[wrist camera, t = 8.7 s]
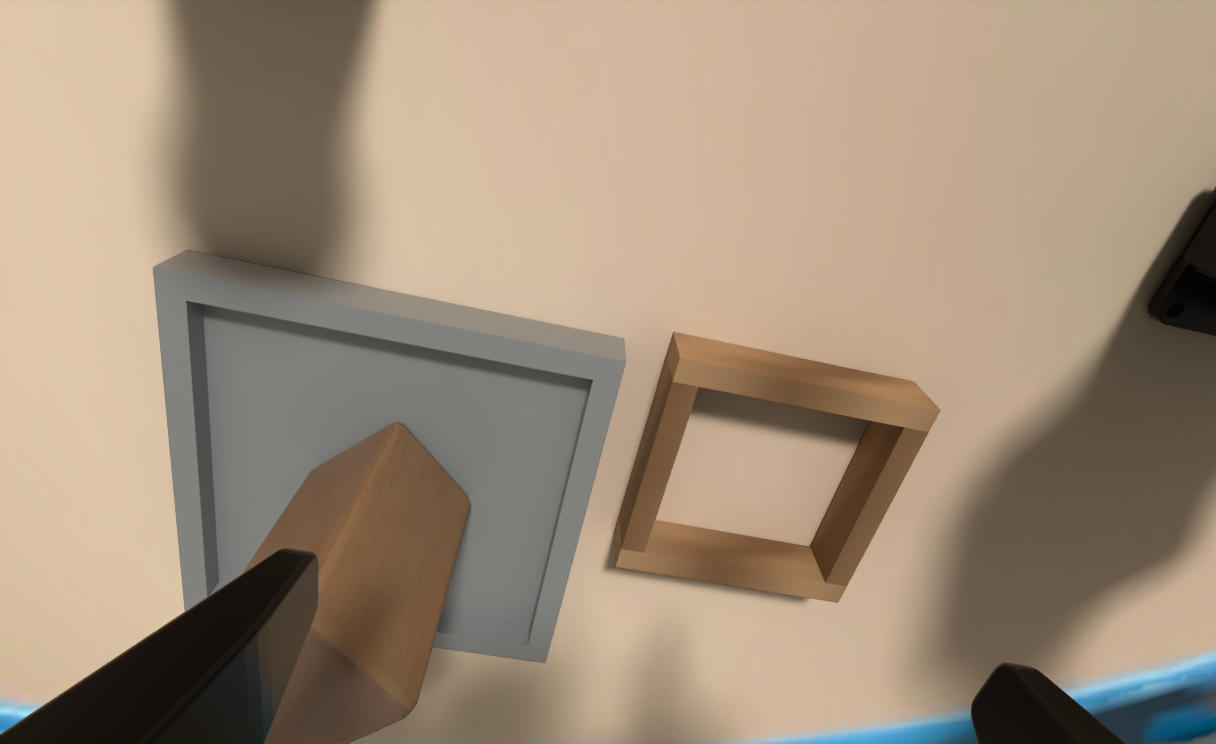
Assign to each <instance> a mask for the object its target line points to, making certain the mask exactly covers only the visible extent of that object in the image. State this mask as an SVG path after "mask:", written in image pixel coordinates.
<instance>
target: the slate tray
mask: <svg viewBox="0 0 1216 744" xmlns="http://www.w3.org/2000/svg"><path fill="white" fill-rule="evenodd" d="M153 275H154V285H155V296H156V307H157V318H158V328H159V339H160V350H161V361H162V371H163V382H164V393H165V404H166V414H167V425H168V436H169V447H170V457H171V468H172V479H173V490H174V500H175V511H176V522H177V533H178V543H179V554H180V565H181V576H182V586H183V597H184V608H185V611H187V610H188V609H190V608H191V607H193V606H194V605H196V604H197V603H199V602H200V601H202V600H203V599H205V598H206V597H208V596H209V595H211V594H212V593H214V592H215V591H217V590H218V589H220V588H221V587H223V586H224V585H226V584H227V583H229V582H231V581H232V580H234V579H235V578H237V577H238V576H240V575H241V574H242V573H243V571H244V570H245V568H246V567H247V565H248V564H249V562H250V561H251V559H252V558H253V556H254V555H255V553H256V552H257V550H258V549H259V547H260V546H261V544H262V543H263V541H264V540H265V538H266V537H267V535H268V534H269V532H270V531H271V529H272V528H273V526H274V525H275V523H276V522H277V520H278V519H279V517H280V516H281V514H282V513H283V511H284V510H285V508H286V507H287V505H288V504H289V502H290V501H291V499H292V498H293V496H294V495H295V494H296V492H297V491H298V489H299V488H300V486H301V485H302V483H303V482H304V480H305V479H306V477H307V476H308V474H309V473H310V471H311V470H313V469H315V468H316V467H318V466H320V465H321V464H323V463H325V462H327V461H328V460H330V459H332V458H333V457H335V456H337V455H338V454H340V453H342V452H344V451H345V450H347V449H349V448H350V447H352V446H354V445H356V444H357V443H359V442H361V441H362V440H364V439H366V438H367V437H369V436H371V435H373V434H374V433H376V432H378V431H379V430H381V429H383V428H385V427H386V426H388V425H390V424H393V423H398V422H399V423H401V424H403V425H405V426H406V427H407V428H408V429H409V430H410V432H411V433H412V434H413V435H414V436H415V437H416V438H417V439H418V440H419V442H420V443H421V444H422V445H423V446H424V447H425V448H426V449H427V450H428V452H429V453H430V454H431V455H432V456H433V457H434V458H435V459H436V461H437V462H438V463H439V464H440V465H441V466H442V467H443V468H444V469H445V471H446V472H447V473H448V474H449V475H450V476H451V477H452V478H453V479H454V481H455V482H456V483H457V484H458V485H459V486H460V487H461V488H462V490H463V491H464V492H465V493H466V494H467V495H468V498H469V500H470V503H471V508H470V512H469V515H468V519H467V523H466V526H465V530H464V534H463V537H462V541H461V545H460V548H459V552H458V556H457V559H456V563H455V566H454V570H453V574H452V577H451V581H450V585H449V588H448V592H447V596H446V599H445V603H444V607H443V610H442V614H441V617H440V621H439V625H438V628H437V632H436V636H435V639H434V643H433V647H437V648H444V649H451V650H457V651H464V652H471V653H478V654H485V655H492V656H499V657H506V658H513V659H520V660H527V661H534V662H541V663H546V659H547V655H548V652H549V648H550V644H551V640H552V637H553V633H554V629H555V625H556V622H557V618H558V614H559V610H560V607H561V603H562V599H563V595H564V592H565V588H566V584H567V580H568V577H569V573H570V569H571V565H572V562H573V558H574V554H575V550H576V547H577V543H578V539H579V536H580V532H581V528H582V524H583V521H584V517H585V513H586V509H587V506H588V502H589V498H590V494H591V491H592V487H593V483H594V479H595V476H596V472H597V468H598V464H599V461H600V457H601V453H602V449H603V446H604V442H605V438H606V434H607V431H608V427H609V423H610V419H611V416H612V412H613V408H614V404H615V401H616V397H617V393H618V389H619V386H620V382H621V378H622V374H623V371H624V367H625V363H626V356H625V344H624V339H622V338H618V337H613V336H608V335H603V334H598V333H593V332H588V331H583V330H578V329H573V328H568V327H564V326H559V325H554V324H549V323H544V322H539V321H534V320H529V319H524V318H519V317H514V316H509V315H505V314H500V313H495V312H490V311H485V310H480V309H475V308H470V307H465V306H460V305H455V304H450V303H446V302H441V301H436V300H431V299H426V298H421V297H416V296H411V295H406V294H401V293H396V292H391V291H387V290H382V289H377V288H372V287H367V286H362V285H357V284H352V283H347V282H342V281H337V280H332V279H328V278H323V277H318V276H313V275H308V274H303V273H298V272H293V271H288V270H283V269H278V268H274V267H269V266H264V265H259V264H254V263H249V262H244V261H239V260H234V259H229V258H224V257H219V256H215V255H210V254H205V253H200V252H195V251H190V250H185V251H183V252H181V253H180V254H178V255H176V256H174V257H172V258H170V259H168V260H166V261H164V262H162V263H160V264H158V265H156V266H154V267H153Z"/></svg>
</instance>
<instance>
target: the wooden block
mask: <svg viewBox="0 0 1216 744" xmlns="http://www.w3.org/2000/svg"><path fill="white" fill-rule="evenodd" d="M470 508H471V503H470V500H469V498H468V495H467V494H466V493H465V492H464V491H463V490H462V488H461V487H460V486H459V485H458V484H457V483H456V482H455V481H454V479H453V478H452V477H451V476H450V475H449V474H448V473H447V472H446V471H445V469H444V468H443V467H442V466H441V465H440V464H439V463H438V462H437V461H436V459H435V458H434V457H433V456H432V455H431V454H430V453H429V452H428V450H427V449H426V448H425V447H424V446H423V445H422V444H421V443H420V442H419V440H418V439H417V438H416V437H415V436H414V435H413V434H412V433H411V432H410V430H409V429H408V428H407V427H406V426H405V425H403V424H401V423H399V422H398V423H393V424H390V425H388V426H386V427H385V428H383V429H381V430H379V431H378V432H376V433H374V434H373V435H371V436H369V437H367V438H366V439H364V440H362V441H361V442H359V443H357V444H356V445H354V446H352V447H350V448H349V449H347V450H345V451H344V452H342V453H340V454H338V455H337V456H335V457H333V458H332V459H330V460H328V461H327V462H325V463H323V464H321V465H320V466H318V467H316V468H315V469H313V470H311V471H310V473H309V474H308V476H307V477H306V479H305V480H304V482H303V483H302V485H301V486H300V488H299V489H298V491H297V492H296V494H295V495H294V496H293V498H292V499H291V501H290V502H289V504H288V505H287V507H286V508H285V510H284V511H283V513H282V514H281V516H280V517H279V519H278V520H277V522H276V523H275V525H274V526H273V528H272V529H271V531H270V532H269V534H268V535H267V537H266V538H265V540H264V541H263V543H262V544H261V546H260V547H259V549H258V550H257V552H256V553H255V555H254V556H253V558H252V559H251V561H250V562H249V564H248V565H247V567H246V568H245V570H244V571H243V573H244V572H246V571H247V570H249V569H250V568H252V567H253V566H255V565H256V564H258V563H259V562H261V561H262V560H264V559H265V558H267V557H268V556H270V555H271V554H273V553H274V552H276V551H278V550H280V549H283V548H291V549H297V550H304V551H310V552H313V553H315V554H316V555H317V558H318V606H317V611H316V614H315V617H314V620H313V623H312V625H311V628H310V630H309V633H308V635H307V638H306V640H305V643H304V645H303V648H302V650H301V653H300V655H299V658H298V660H297V663H296V665H295V668H294V670H293V673H292V675H291V678H290V680H289V683H288V685H287V688H286V690H285V693H284V695H283V698H282V700H281V703H280V705H279V708H278V710H277V713H276V715H275V718H274V720H273V723H272V725H271V728H270V730H269V732H268V735H267V737H266V740H265V742H264V744H348V743H350V742H353V741H355V740H357V739H359V738H361V737H364V736H366V735H368V734H370V733H373V732H375V731H377V730H379V729H381V728H384V727H386V726H388V725H390V724H393V723H395V722H397V721H399V720H401V719H404V718H405V717H406V716H407V715H408V714H409V713H410V712H411V711H412V710H413V708H414V707H415V705H416V704H417V701H418V698H419V694H420V690H421V687H422V683H423V679H424V676H425V672H426V668H427V665H428V661H429V658H430V654H431V650H432V647H433V643H434V639H435V636H436V632H437V628H438V625H439V621H440V617H441V614H442V610H443V607H444V603H445V599H446V596H447V592H448V588H449V585H450V581H451V577H452V574H453V570H454V566H455V563H456V559H457V556H458V552H459V548H460V545H461V541H462V537H463V534H464V530H465V526H466V523H467V519H468V515H469V512H470ZM243 573H242V574H243Z"/></svg>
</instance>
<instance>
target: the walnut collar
mask: <svg viewBox="0 0 1216 744" xmlns="http://www.w3.org/2000/svg"><path fill="white" fill-rule="evenodd" d="M699 387H702V388H707V389H712V390H718V391H723V392H728V393H733V394H738V395H743V396H748V397H753V398H758V399H763V400H768V401H773V402H778V403H783V404H788V405H793V406H799V407H804V408H809V409H814V410H819V411H824V412H829V413H834V414H839V415H844V416H849V417H854V418H859V419H864V420H869V421H870V423H869V425H868V427H867V429H866V432H865V434H864V436H863V438H862V440H861V442H860V444H859V446H858V448H857V450H856V452H855V455H854V457H853V459H852V461H851V463H850V465H849V467H848V469H847V471H846V473H845V475H844V477H843V480H842V482H841V484H840V486H839V488H838V490H837V492H836V494H835V496H834V498H833V500H832V503H831V505H830V507H829V509H828V511H827V513H826V515H825V517H824V519H823V521H822V523H821V526H820V528H819V530H818V532H817V534H816V536H815V538H814V540H813V542H812V544H811V546H810V547H807V546H802V545H796V544H790V543H784V542H778V541H773V540H767V539H761V538H755V537H749V536H743V535H738V534H732V533H726V532H720V531H714V530H709V529H703V528H697V527H691V526H685V525H680V524H674V523H668V522H662V521H656V520H655V519H656V516H657V513H658V510H659V507H660V504H661V501H662V498H663V495H664V491H665V488H666V485H667V482H668V479H669V476H670V473H671V470H672V467H673V464H674V461H675V458H676V455H677V452H678V449H679V446H680V443H681V440H682V437H683V434H684V431H685V428H686V425H687V422H688V419H689V416H690V413H691V410H692V407H693V404H694V401H695V398H696V395H697V392H698V389H699ZM939 412H940V409H939V408H938V407H937V406H936V405H935V404H934V403H933V402H932V400H931V399H930V398H929V397H928V396H927V395H926V394H925V393H924V392H923V391H922V390H921V389H920V387H919V386H918V385H917V384H916V383H915V382H912V381H907V380H903V379H898V378H893V377H888V376H883V375H878V374H873V373H869V372H864V371H859V370H854V369H849V368H844V367H840V366H835V365H830V364H825V363H820V362H815V361H811V360H806V359H801V358H796V357H791V356H786V355H781V354H777V353H772V352H767V351H762V350H757V349H752V348H748V347H743V346H738V345H733V344H728V343H723V342H718V341H714V340H709V339H704V338H699V337H694V336H689V335H685V334H680V333H675V332H674V333H673V336H672V339H671V343H670V346H669V349H668V353H667V356H666V360H665V363H664V366H663V370H662V373H661V376H660V380H659V383H658V386H657V390H656V393H655V397H654V400H653V403H652V407H651V410H650V413H649V417H648V420H647V424H646V427H645V430H644V434H643V437H642V440H641V444H640V447H639V450H638V454H637V457H636V461H635V464H634V467H633V471H632V474H631V477H630V481H629V484H628V487H627V491H626V494H625V498H624V501H623V504H622V508H621V511H620V514H619V518H618V521H617V524H616V528H615V561H616V567H621V568H627V569H633V570H639V571H645V572H651V573H658V574H664V575H670V576H676V577H682V578H688V579H694V580H701V581H707V582H713V583H719V584H725V585H731V586H738V587H744V588H750V589H756V590H762V591H768V592H774V593H781V594H787V595H793V596H799V597H805V598H811V599H817V600H824V601H830V602H836V603H838V602H839V600H840V598H841V596H842V595H843V593H844V591H845V589H846V587H847V585H848V583H849V581H850V579H851V578H852V576H853V574H854V572H855V570H856V568H857V566H858V564H859V563H860V561H861V559H862V557H863V555H864V553H865V551H866V549H867V547H868V546H869V544H870V542H871V540H872V538H873V536H874V534H875V532H876V531H877V529H878V527H879V525H880V523H881V521H882V519H883V517H884V515H885V514H886V512H887V510H888V508H889V506H890V504H891V502H892V500H893V498H894V497H895V495H896V493H897V491H898V489H899V487H900V485H901V483H902V482H903V480H904V478H905V476H906V474H907V472H908V470H909V468H910V466H911V465H912V463H913V461H914V459H915V457H916V455H917V453H918V451H919V450H920V448H921V446H922V444H923V442H924V440H925V438H926V436H927V434H928V433H929V431H930V429H931V427H932V425H933V423H934V421H935V419H936V417H937V416H938V414H939Z"/></svg>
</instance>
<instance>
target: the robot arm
mask: <svg viewBox="0 0 1216 744" xmlns="http://www.w3.org/2000/svg"><path fill="white" fill-rule="evenodd" d="M1172 303H1174V304H1173V306H1172V307H1171V308H1170V309H1169V310H1168V311H1167V308H1168V307H1169V306H1170V305H1171V304H1172ZM1148 314H1149V315H1150V317H1151V318H1153V319H1155V320H1157V321H1159V322H1161V323H1163V324H1165V325H1170V326H1174V327H1179V328H1183V329H1187V330H1192V331H1196V332H1201V333H1205V334H1209V335H1214V336H1216V200H1215V202H1214V203H1213V205H1212V206H1211V208H1210V209H1209V211H1208V213H1207V214H1206V216H1205V217H1204V219H1203V220H1202V222H1201V223H1200V225H1199V227H1198V228H1197V230H1196V231H1195V233H1194V234H1193V236H1192V237H1191V239H1190V240H1189V242H1188V244H1187V245H1186V247H1185V248H1184V250H1183V251H1182V253H1181V254H1180V256H1179V258H1178V259H1177V261H1176V262H1175V264H1174V265H1173V267H1172V268H1171V270H1170V272H1169V273H1168V275H1167V276H1166V278H1165V279H1164V281H1163V282H1162V284H1161V286H1160V287H1159V289H1158V290H1157V292H1156V293H1155V295H1154V296H1153V298H1152V300H1151V301H1150V303H1149V306H1148ZM317 606H318V558H317V555H316V554H315V553H313V552H310V551H304V550H297V549H291V548H283V549H280V550H278V551H276V552H274V553H273V554H271V555H270V556H268V557H267V558H265V559H264V560H262V561H261V562H259V563H258V564H256V565H255V566H253V567H252V568H250V569H249V570H247V571H246V572H244V573H243V574H241V575H240V576H238V577H237V578H235V579H234V580H232V581H231V582H229V583H227V584H226V585H224V586H223V587H221V588H220V589H218V590H217V591H215V592H214V593H212V594H211V595H209V596H208V597H206V598H205V599H203V600H202V601H200V602H199V603H197V604H196V605H194V606H193V607H191V608H190V609H188V610H187V611H185V612H184V613H182V614H181V615H179V616H178V617H176V618H175V619H173V620H172V621H170V622H169V623H167V624H166V625H164V626H163V627H161V628H160V629H158V630H157V631H155V632H154V633H152V634H151V635H149V636H148V637H146V638H145V639H143V640H142V641H140V642H139V643H137V644H135V645H134V646H132V647H131V648H129V649H128V650H126V651H125V652H123V653H122V654H120V655H119V656H117V657H116V658H114V659H113V660H111V661H110V662H108V663H107V664H105V665H104V666H102V667H101V668H99V669H98V670H96V671H95V672H93V673H92V674H90V675H89V676H87V677H86V678H84V679H83V680H81V681H80V682H78V683H77V684H75V685H74V686H72V687H71V688H69V689H68V690H66V691H65V692H63V693H62V694H60V695H59V696H57V697H56V698H54V699H53V700H51V701H50V702H48V703H47V704H45V705H44V706H42V707H40V708H39V709H37V710H36V711H34V712H33V713H31V714H30V715H28V716H27V717H25V718H24V719H22V720H21V721H19V722H18V723H16V724H15V725H13V726H12V727H10V728H9V729H7V730H6V731H4V732H3V733H1V734H0V744H264V742H265V740H266V737H267V735H268V732H269V730H270V728H271V725H272V723H273V720H274V718H275V715H276V713H277V710H278V708H279V705H280V703H281V700H282V698H283V695H284V693H285V690H286V688H287V685H288V683H289V680H290V678H291V675H292V673H293V670H294V668H295V665H296V663H297V660H298V658H299V655H300V653H301V650H302V648H303V645H304V643H305V640H306V638H307V635H308V633H309V630H310V628H311V625H312V623H313V620H314V617H315V614H316V611H317ZM971 718H972V722H973V726H974V730H975V733H976V737H977V741H978V744H1126V743H1125V742H1124V741H1122V740H1121V739H1120V738H1119V737H1118V736H1117V735H1115V734H1114V733H1113V732H1112V731H1110V730H1109V729H1108V728H1107V727H1106V726H1105V725H1103V724H1102V723H1101V722H1100V721H1099V720H1097V719H1096V718H1095V717H1094V716H1093V715H1091V714H1090V713H1089V712H1088V711H1087V710H1085V709H1084V708H1083V707H1082V706H1081V705H1079V704H1078V703H1077V702H1076V701H1075V700H1073V699H1072V698H1071V697H1070V696H1069V695H1067V694H1066V693H1065V692H1064V691H1063V690H1061V689H1060V688H1059V687H1058V686H1057V685H1055V684H1054V683H1053V682H1052V681H1051V680H1049V679H1048V678H1047V677H1046V676H1045V675H1043V674H1042V673H1041V672H1040V671H1038V670H1037V669H1035V668H1032V667H1029V666H1023V665H1017V664H1011V663H1002V664H1000V665H998V666H997V667H996V668H995V669H994V671H993V672H992V674H991V675H990V676H989V678H988V679H987V681H986V682H985V684H984V685H983V686H982V688H981V689H980V691H979V692H978V693H977V695H976V696H975V698H974V700H973V702H972V705H971Z"/></svg>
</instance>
